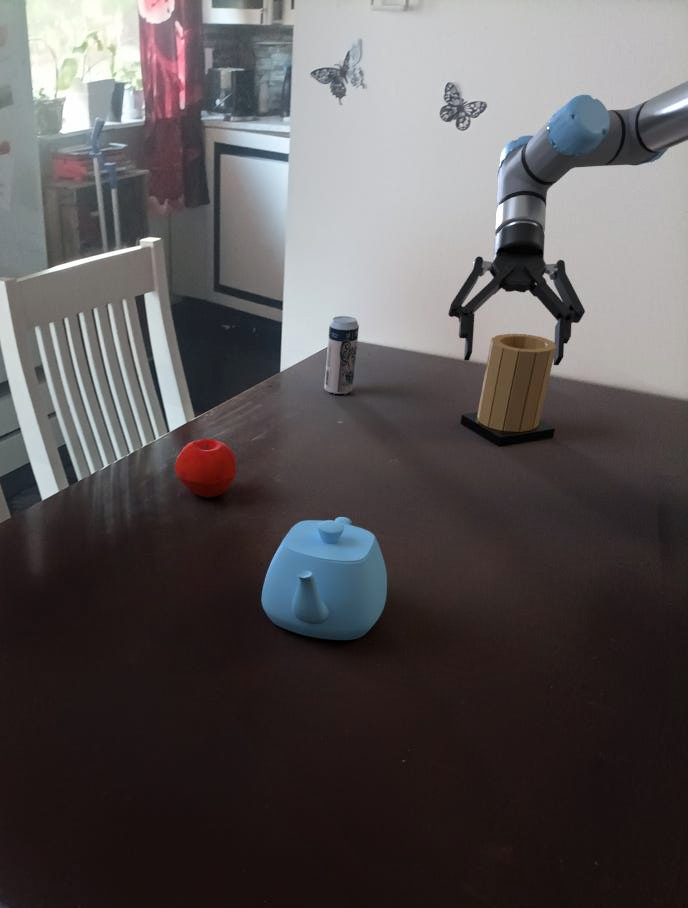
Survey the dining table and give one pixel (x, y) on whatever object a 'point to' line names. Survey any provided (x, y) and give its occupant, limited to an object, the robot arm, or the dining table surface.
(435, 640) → the dining table surface
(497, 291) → the robot arm
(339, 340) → the beer can
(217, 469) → the apple
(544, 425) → the peg stand
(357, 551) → the teapot
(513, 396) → the wooden cup
